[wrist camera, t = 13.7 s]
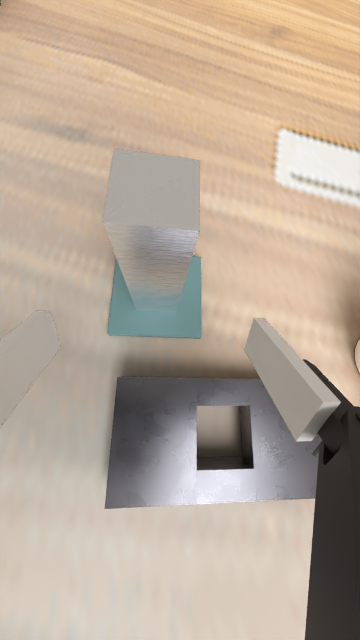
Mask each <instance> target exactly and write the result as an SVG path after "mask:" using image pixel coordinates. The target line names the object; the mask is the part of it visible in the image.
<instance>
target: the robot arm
mask: <svg viewBox="0 0 360 640" xmlns="http://www.w3.org/2000/svg"><path fill="white" fill-rule="evenodd" d="M60 347H61V344H60V341H59V338H58V334H57V331H56V327H55V324H54V320H53V317H52V313H51V311H40V310H37V311H36V312H35V313H34V314H32V315H31V316H30V317H29V318H27V319H26V320H25V321H24V322H22V323H21V324H20V325H19V326H17V327H16V328H15V329H14V330H13V331H11V332H10V333H9V334H8V335H6V336H5V337H4V338H3V339H1V340H0V427H1V426H2V425H3V423H4V422H5V421H6V419H7V418H8V417H9V415H10V414H11V413H12V411H13V410H14V409H15V407H16V406H17V405H18V403H19V402H20V401H21V399H22V398H23V397H24V395H25V394H26V393H27V391H28V390H29V389H30V387H31V386H32V385H33V383H34V382H35V381H36V379H37V378H38V377H39V375H40V374H41V373H42V371H43V370H44V369H45V367H46V366H47V365H48V363H49V362H50V361H51V359H52V358H53V356H54V355H55V354H56V352H57V351H58V350H59V348H60ZM244 350H245V352H246V354H247V356H248V357H249V359H250V361H251V363H252V364H253V366H254V368H255V370H256V371H257V373H258V375H259V377H260V379H261V380H262V382H263V384H264V386H265V387H266V389H267V391H268V393H269V394H270V396H271V398H272V400H273V402H274V403H275V405H276V407H277V409H278V410H279V412H280V414H281V416H282V417H283V419H284V421H285V423H286V425H287V426H288V428H289V430H290V432H291V433H292V435H293V437H294V439H295V440H296V442H297V441H312V440H313V438H314V437H315V436H316V434H317V433H318V435H319V436H320V438H321V439H322V442H321V443H320V444H319V445H318V446H317V448H316V449H315V450H314V452H313V454H312V455H314V456H316V455H317V453H318V452H319V459H318V472H317V485H316V498H315V512H314V525H313V538H312V552H311V565H310V578H309V592H308V605H307V618H306V632H305V640H360V407H355V406H353V405H352V404H351V403H350V402H349V401H348V400H347V399H346V398H345V397H344V396H343V394H342V393H341V392H340V391H339V390H338V389H337V388H336V387H335V386H334V385H333V384H332V383H331V382H329V381H328V379H327V378H326V377H325V376H324V375H323V374H322V373H321V371H320V370H319V369H318V368H317V367H316V366H314V365H313V364H312V363H310V362H309V361H307V360H302V359H301V358H300V357H299V356H298V354H297V353H296V352H295V351H294V350H293V349H292V348H291V347H290V346H289V345H288V343H287V342H286V341H285V340H284V339H283V338H282V337H281V336H280V335H279V334H278V333H277V331H276V330H275V329H274V328H273V327H272V326H271V325H270V324H269V323H268V322H267V320H266V319H265V318H254V319H253V323H252V326H251V329H250V332H249V336H248V339H247V342H246V345H245V348H244Z"/></svg>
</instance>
